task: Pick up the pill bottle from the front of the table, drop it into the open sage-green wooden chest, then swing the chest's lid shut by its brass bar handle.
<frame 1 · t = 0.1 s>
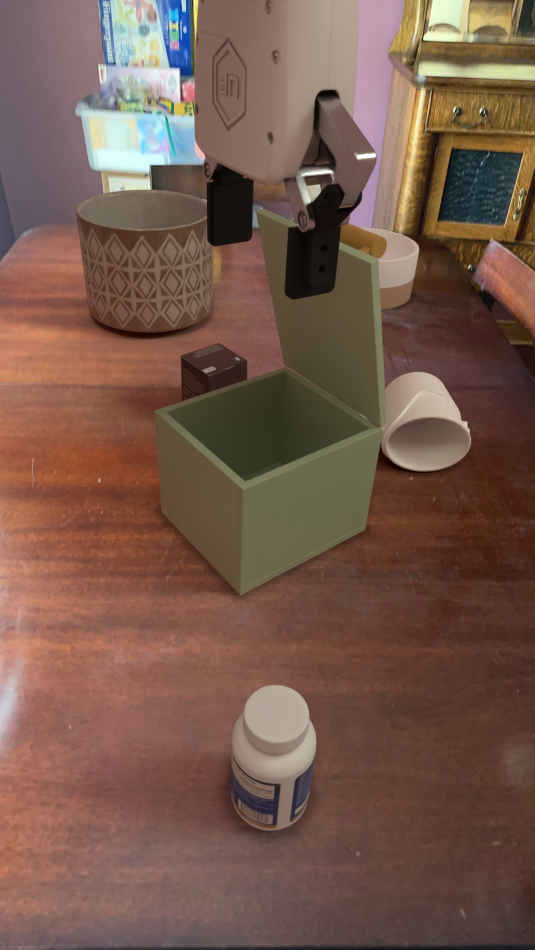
hand: (266, 266, 43), 30 cm above the table, tool pointing down, fingers open, 9 cm apart
chest: (262, 520, 69), on the table
lid: (344, 307, 60), point 21 cm above the table, hinge at 75.0°
box: (214, 410, 86), on the table
mug: (403, 450, 81), on the table
planter: (152, 316, 107), on the table
pill bottle: (269, 795, 47), on the table
bowl: (361, 291, 119), on the table
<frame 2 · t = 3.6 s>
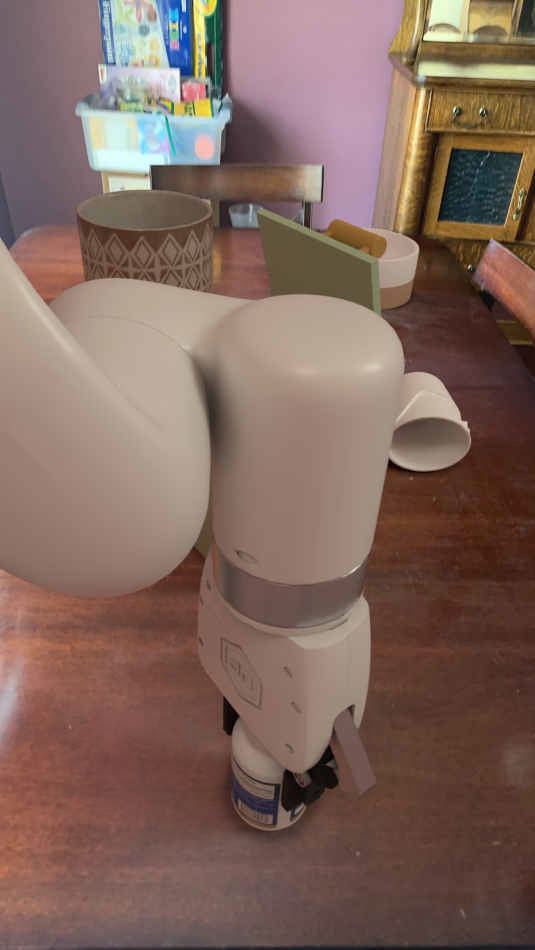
hand: (272, 755, 44), 5 cm above the table, tool pointing down, fingers closed on pill bottle, 5 cm apart
pill bottle: (269, 795, 47), on the table, touching gripper
everything else where it was.
when the fingers open (14 cm above the table, at t = 9.8 s): pill bottle drops 9 cm, resting on chest.
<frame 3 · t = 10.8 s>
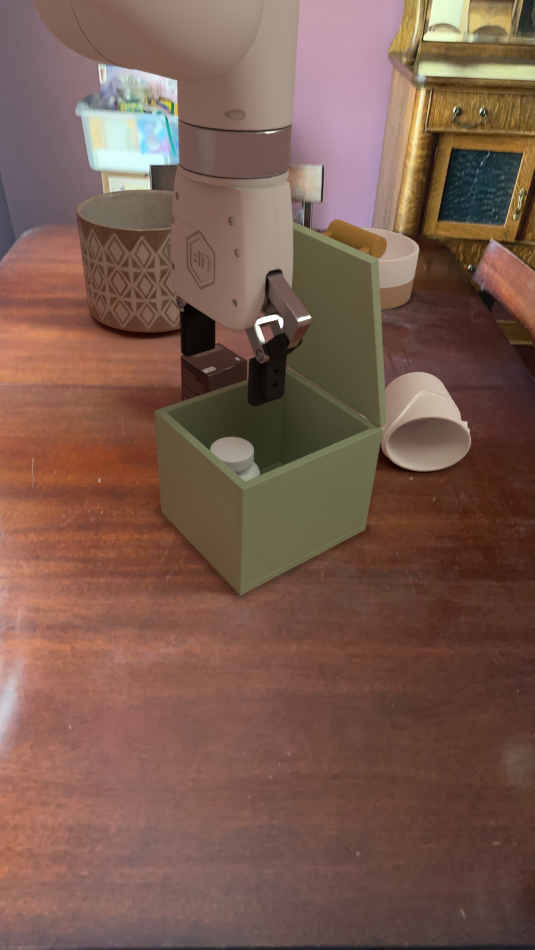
hand: (230, 375, 56), 18 cm above the table, tool pointing down, fingers open, 9 cm apart
pill bottle: (230, 530, 67), point 1 cm above the table, touching chest
everything else where it was.
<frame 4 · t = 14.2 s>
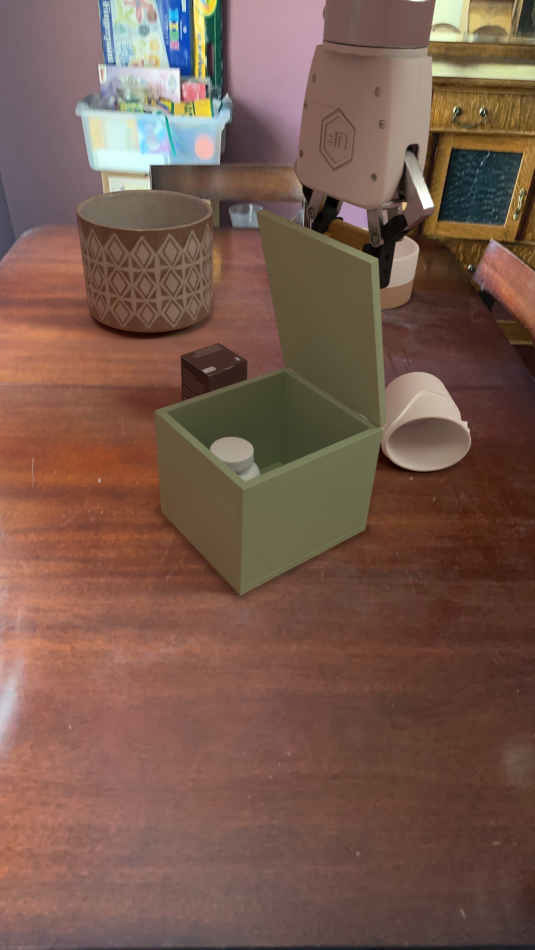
hand: (347, 275, 58), 24 cm above the table, tool pointing down, fingers closed on lid, 5 cm apart
lid: (344, 307, 60), point 21 cm above the table, hinge at 75.0°, touching gripper
everything else where it was.
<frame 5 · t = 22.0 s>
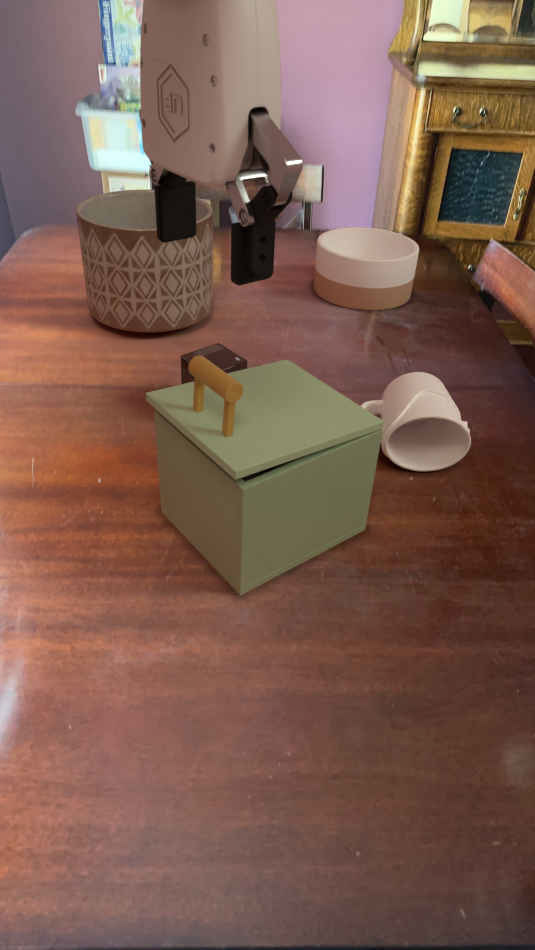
hand: (212, 258, 49), 28 cm above the table, tool pointing down, fingers open, 9 cm apart
lid: (267, 386, 59), point 16 cm above the table, hinge at 4.4°
everything else where it was.
at the end: pill bottle inside the target area in the chest (3.9 cm from its centre), point 0.6 cm above the chest's base; lid at +4° (first picture: +75°) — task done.
